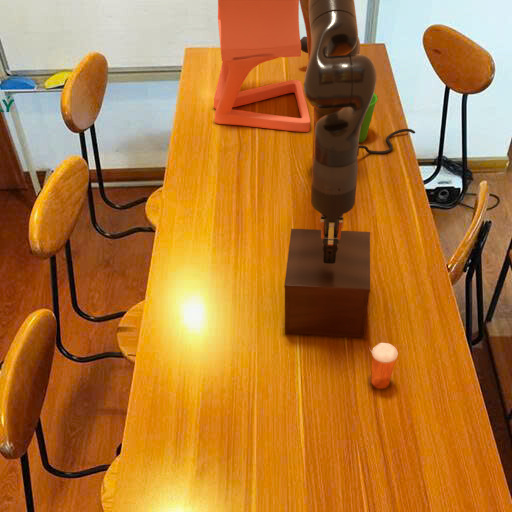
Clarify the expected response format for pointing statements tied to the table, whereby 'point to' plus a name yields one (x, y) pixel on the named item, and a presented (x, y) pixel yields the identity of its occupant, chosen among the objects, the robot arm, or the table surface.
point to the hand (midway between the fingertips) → (329, 260)
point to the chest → (325, 313)
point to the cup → (367, 119)
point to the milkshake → (383, 364)
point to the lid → (323, 274)
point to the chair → (257, 60)
